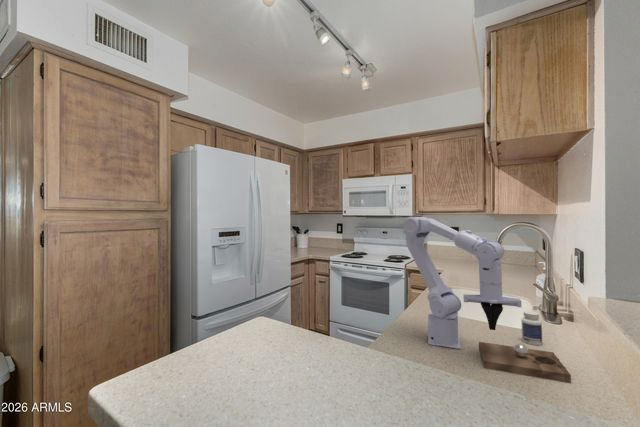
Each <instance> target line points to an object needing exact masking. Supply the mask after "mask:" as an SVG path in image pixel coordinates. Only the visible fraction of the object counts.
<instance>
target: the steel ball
mask: <svg viewBox="0 0 640 427" xmlns="http://www.w3.org/2000/svg"><path fill="white" fill-rule="evenodd" d="M513 347H514V352H515V354H516V355H518V356H519V357H526V356H528V354H529V351H528V349H529V348H528V347H527V346H526V345H525V344H522V343H516V344H515V345H514V346H513Z"/></svg>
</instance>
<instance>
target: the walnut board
mask: <svg viewBox="0 0 640 427" xmlns="http://www.w3.org/2000/svg"><path fill="white" fill-rule="evenodd" d="M478 349H479V353H480V358H481V361H482V365H483V367H482V368H484V369H488V370H493V371H501V372H505V373H512V374H515V375H516V374H517V375H522V376H528V377H532V378H533V377H535V378H539V379H544V380H545V379H546V380H552V381H557V382H562V383H563V382H564V383H569V384H571V383H572V375H571V373H570V372H569V370H567V368H566V366H564V364H563V363H562V362H561V360H560V359H559V358H558V357H557V356H556V354H555V353H554V351H553V352H552V351H547V350H546V351H545V350H539V349H533V348H528V351H529V354H528V356H526V357H519V356H518V355H516V354H515V352H514V346H510V345H504V344H496V343H489V342H484V341H478Z"/></svg>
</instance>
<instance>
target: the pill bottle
mask: <svg viewBox="0 0 640 427" xmlns="http://www.w3.org/2000/svg"><path fill="white" fill-rule="evenodd" d="M539 318H540V316H539V313H538V312H536V311H533V310H524V311H523V317H522V318H521V337H522V338H521V339H522V341H523V342H524V343H526V344H528V345H533V346H540V345H542V344H543V326H542V321H541V320H540V319H539Z"/></svg>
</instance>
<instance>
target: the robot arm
mask: <svg viewBox="0 0 640 427" xmlns="http://www.w3.org/2000/svg"><path fill="white" fill-rule="evenodd" d="M402 231H403V232H404V235H405V242H406V247H407V249H408V251H409V252H410V255H411V257H412V258H413V261H414V263H415V265H416V267H417V269H418V270H419V273H420V275H421V277H422V279H423V281H424V283H425V285H426V287H427V289H428V293H427V297H426V298H427V300H428V302H429V309H430V311H431V313H428V315H427V341H428V345H431V346H432V345H433V346H438V347H445V348H449V349H451V348H452V349H456V350H457V349H461V343H460V338H459V322H458V321H459V318H458V316H459V314H458V312H459V311H460V310H461V309H462V302H461V299H460V297H458V296H457V295H456V294H455V293H454V292H453V290H452V288H451V287H449V286H447V285H446V284H445V282H444V281H443V279H442V278H441V275H440V274H439V272H438V269H437V267H436V266H435V264H434V262H433V260H432V258H431V255H430V254H429V252H428V251H427V249H426V247H425V246H424V243H425V240H426V238H427V237H428V236H429V234H430V233H431V232H433V233H435V234H437V235H440V236H442V237H444V238H446V239H449V240H451V241H453V242H454V245H455V247H458V248H459V249H460V250H464V251H466V252H467V253H469V254H472V255H474V256H475V257H476V259H477V260H478V271H479V272H478V274H479V276H478V277H479V280H478V281H479V294H465V293H464V294H463V302H464V303H477V304H480V306H481V308H482V309H483V312H484V314H485V317H486V320H487V323H488V328H489V330H491V331H496V327H497V323H498V321H499V318H500V316H501V314H502V312H503V310H504V306H509V307H517V308H523V307H522V299H520V298H513V297H507V296H503V272H502V269H503V268H502V258H503V257H504V255H505V249H504V247H503V245H502V244H501V243H499V242H497V241H496V240H488V238H487V237H485V236H484V237H483V236H482V237H481V236H478V235H476V234H474V233H473V231H472V230H470V229H467V230H465V229H464V230H463V229H462V230H460V231H458V230H456V229H453V228H452V227H450V226H448V225H446V224H445V223H441V222H440V221H438V220H437V219H435V218H430V217H429V216H408V217H406V219H405V220H404V223H403V226H402Z"/></svg>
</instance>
